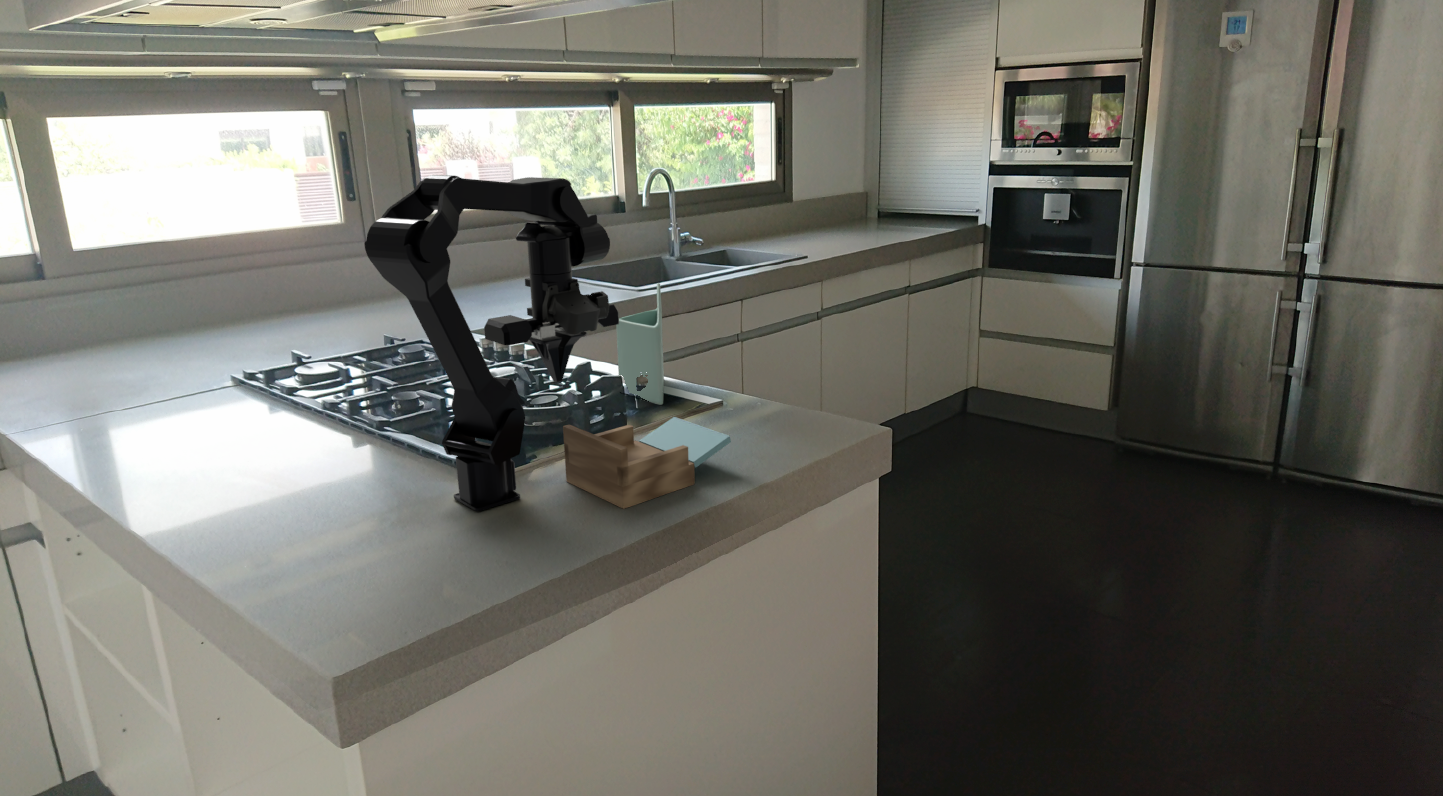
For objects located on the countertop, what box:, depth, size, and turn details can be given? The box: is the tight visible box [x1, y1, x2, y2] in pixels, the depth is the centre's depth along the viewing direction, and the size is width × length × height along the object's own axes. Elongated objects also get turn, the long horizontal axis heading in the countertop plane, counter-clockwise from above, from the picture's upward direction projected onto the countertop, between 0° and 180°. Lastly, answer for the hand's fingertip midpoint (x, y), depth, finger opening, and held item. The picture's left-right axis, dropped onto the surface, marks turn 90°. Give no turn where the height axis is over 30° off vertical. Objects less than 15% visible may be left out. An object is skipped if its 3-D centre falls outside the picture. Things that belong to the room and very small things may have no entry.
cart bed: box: [562, 424, 696, 510], centre depth 128 cm, size 12×13×8 cm
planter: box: [615, 282, 665, 406], centre depth 168 cm, size 16×8×20 cm, turn 3°
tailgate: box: [638, 416, 732, 469], centre depth 135 cm, size 2×12×7 cm
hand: (557, 381), depth 134 cm, fingers closed
